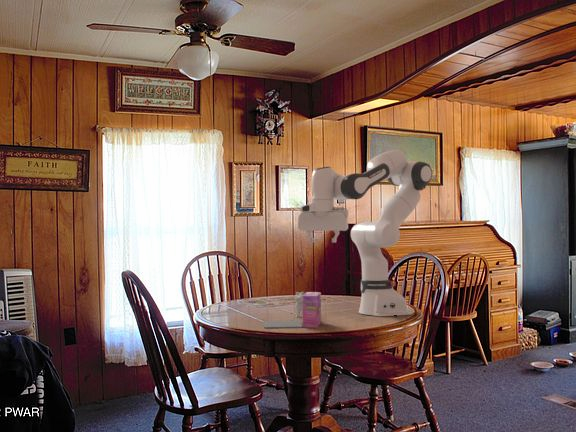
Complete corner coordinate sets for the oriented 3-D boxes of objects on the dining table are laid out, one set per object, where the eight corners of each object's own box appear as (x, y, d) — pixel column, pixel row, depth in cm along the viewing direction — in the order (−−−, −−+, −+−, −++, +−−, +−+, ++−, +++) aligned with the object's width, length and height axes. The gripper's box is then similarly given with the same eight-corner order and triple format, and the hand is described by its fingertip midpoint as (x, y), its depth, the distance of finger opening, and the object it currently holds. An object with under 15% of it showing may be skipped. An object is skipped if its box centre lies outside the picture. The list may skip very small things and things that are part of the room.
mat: (300, 321, 202) (300, 320, 202) (302, 327, 190) (302, 326, 190) (264, 322, 202) (264, 321, 202) (264, 328, 190) (264, 327, 190)
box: (317, 327, 190) (317, 295, 190) (302, 327, 191) (301, 295, 191) (321, 322, 200) (321, 292, 200) (306, 322, 201) (306, 291, 201)
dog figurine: (292, 319, 209) (292, 292, 209) (301, 313, 221) (300, 288, 221) (305, 319, 207) (304, 292, 207) (313, 314, 219) (312, 288, 219)
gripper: (350, 207, 203) (350, 242, 203) (301, 208, 211) (301, 241, 211) (345, 206, 197) (345, 242, 197) (296, 207, 205) (296, 242, 205)
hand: (322, 242), depth 204 cm, fingers open, 8 cm apart
